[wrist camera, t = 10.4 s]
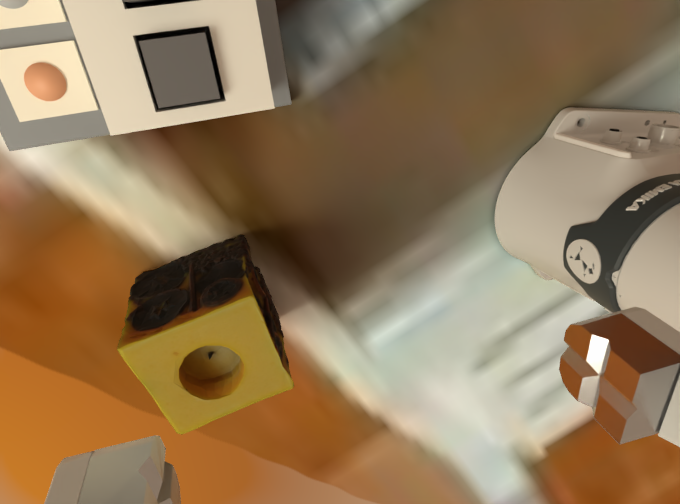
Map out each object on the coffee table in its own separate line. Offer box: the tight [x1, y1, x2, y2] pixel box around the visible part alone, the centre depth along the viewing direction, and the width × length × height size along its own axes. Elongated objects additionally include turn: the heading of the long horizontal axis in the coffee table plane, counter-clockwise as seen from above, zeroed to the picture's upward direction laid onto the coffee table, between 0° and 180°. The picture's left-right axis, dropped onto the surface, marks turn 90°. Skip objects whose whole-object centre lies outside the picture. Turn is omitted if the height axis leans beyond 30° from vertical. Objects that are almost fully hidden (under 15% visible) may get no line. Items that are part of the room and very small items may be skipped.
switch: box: [139, 31, 220, 108], centre depth 29 cm, size 4×4×6 cm
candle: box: [117, 235, 294, 434], centre depth 37 cm, size 10×10×10 cm
